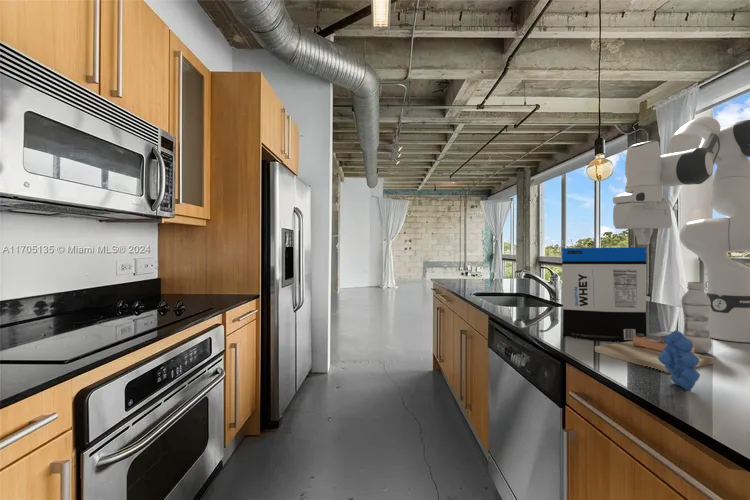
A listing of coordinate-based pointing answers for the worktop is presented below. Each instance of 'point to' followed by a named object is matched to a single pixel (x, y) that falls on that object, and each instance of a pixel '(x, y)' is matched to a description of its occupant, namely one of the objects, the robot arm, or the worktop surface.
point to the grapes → (680, 360)
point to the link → (650, 343)
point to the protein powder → (604, 293)
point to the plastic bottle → (696, 317)
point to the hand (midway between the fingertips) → (643, 244)
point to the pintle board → (644, 352)
